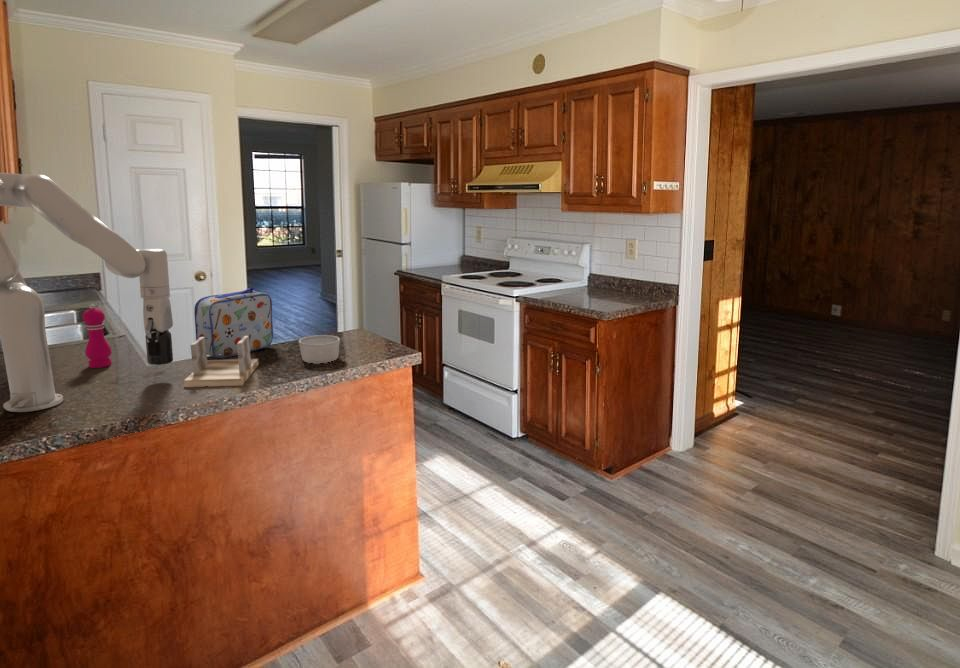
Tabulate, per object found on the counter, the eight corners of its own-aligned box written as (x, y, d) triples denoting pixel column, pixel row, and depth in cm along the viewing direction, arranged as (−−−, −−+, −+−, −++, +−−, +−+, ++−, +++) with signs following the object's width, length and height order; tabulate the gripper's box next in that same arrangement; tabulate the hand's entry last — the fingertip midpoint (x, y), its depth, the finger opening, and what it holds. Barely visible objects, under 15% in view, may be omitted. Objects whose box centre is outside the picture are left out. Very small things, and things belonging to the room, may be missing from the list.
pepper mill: (89, 369, 199) (80, 306, 195) (85, 365, 205) (76, 303, 200) (115, 365, 204) (107, 304, 199) (110, 361, 209) (102, 301, 205)
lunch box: (260, 342, 235) (256, 283, 230) (280, 346, 230) (276, 285, 225) (194, 359, 212) (187, 293, 207) (214, 363, 207) (208, 296, 202)
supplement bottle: (178, 361, 189) (175, 322, 187) (156, 366, 184) (153, 325, 181) (164, 358, 193) (161, 319, 190) (142, 363, 187) (139, 322, 185)
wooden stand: (242, 385, 184) (239, 348, 182) (184, 387, 182) (180, 350, 180) (258, 364, 206) (256, 331, 203) (206, 366, 204) (203, 332, 201)
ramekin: (344, 363, 208) (343, 342, 207) (302, 367, 203) (301, 345, 202) (337, 353, 220) (336, 333, 219) (297, 356, 215) (296, 336, 214)
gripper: (157, 296, 176) (162, 359, 180) (178, 288, 193) (182, 345, 197) (129, 296, 175) (134, 359, 179) (152, 287, 192) (157, 345, 196)
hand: (159, 351), depth 188 cm, fingers closed on supplement bottle, 6 cm apart
